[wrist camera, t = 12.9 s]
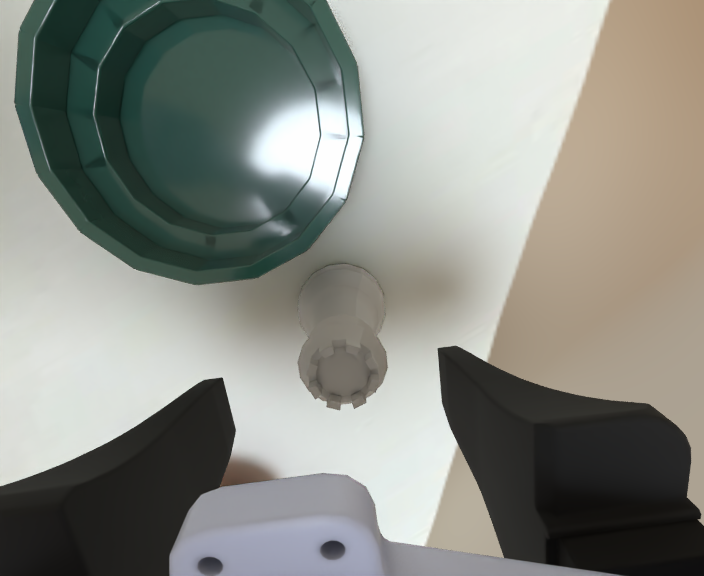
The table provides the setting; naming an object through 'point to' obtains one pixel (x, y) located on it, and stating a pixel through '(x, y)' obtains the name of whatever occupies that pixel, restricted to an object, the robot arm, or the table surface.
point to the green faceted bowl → (192, 127)
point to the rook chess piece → (342, 335)
